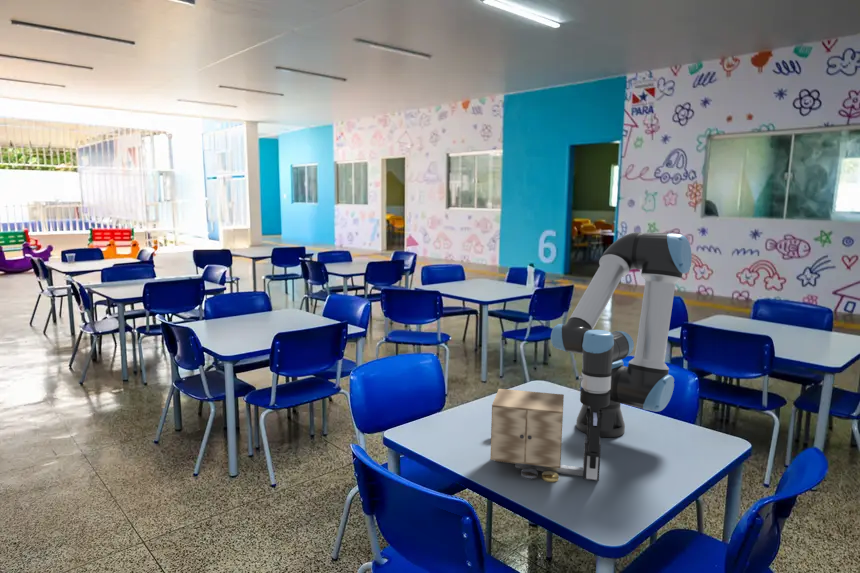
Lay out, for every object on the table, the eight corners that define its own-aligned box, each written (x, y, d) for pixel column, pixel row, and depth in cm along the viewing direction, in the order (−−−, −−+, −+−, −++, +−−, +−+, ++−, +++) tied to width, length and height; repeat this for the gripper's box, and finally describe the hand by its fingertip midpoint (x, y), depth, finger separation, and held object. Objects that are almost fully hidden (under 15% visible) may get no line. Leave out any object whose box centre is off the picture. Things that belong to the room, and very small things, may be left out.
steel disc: (537, 474, 151) (538, 469, 151) (536, 481, 147) (537, 477, 147) (521, 472, 152) (521, 467, 152) (520, 479, 148) (520, 475, 148)
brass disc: (558, 476, 150) (558, 472, 150) (558, 484, 146) (558, 479, 146) (542, 474, 151) (542, 470, 151) (541, 482, 147) (541, 477, 147)
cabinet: (560, 463, 157) (563, 394, 155) (559, 488, 143) (562, 413, 140) (496, 455, 162) (498, 388, 159) (489, 479, 147) (491, 406, 145)
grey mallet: (598, 472, 152) (600, 437, 151) (598, 480, 147) (600, 444, 146) (516, 462, 157) (517, 428, 156) (514, 470, 153) (516, 435, 151)
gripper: (580, 376, 158) (576, 451, 161) (581, 401, 137) (576, 487, 140) (607, 378, 157) (603, 454, 160) (613, 404, 135) (608, 491, 138)
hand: (590, 469), depth 150 cm, fingers open, 9 cm apart
